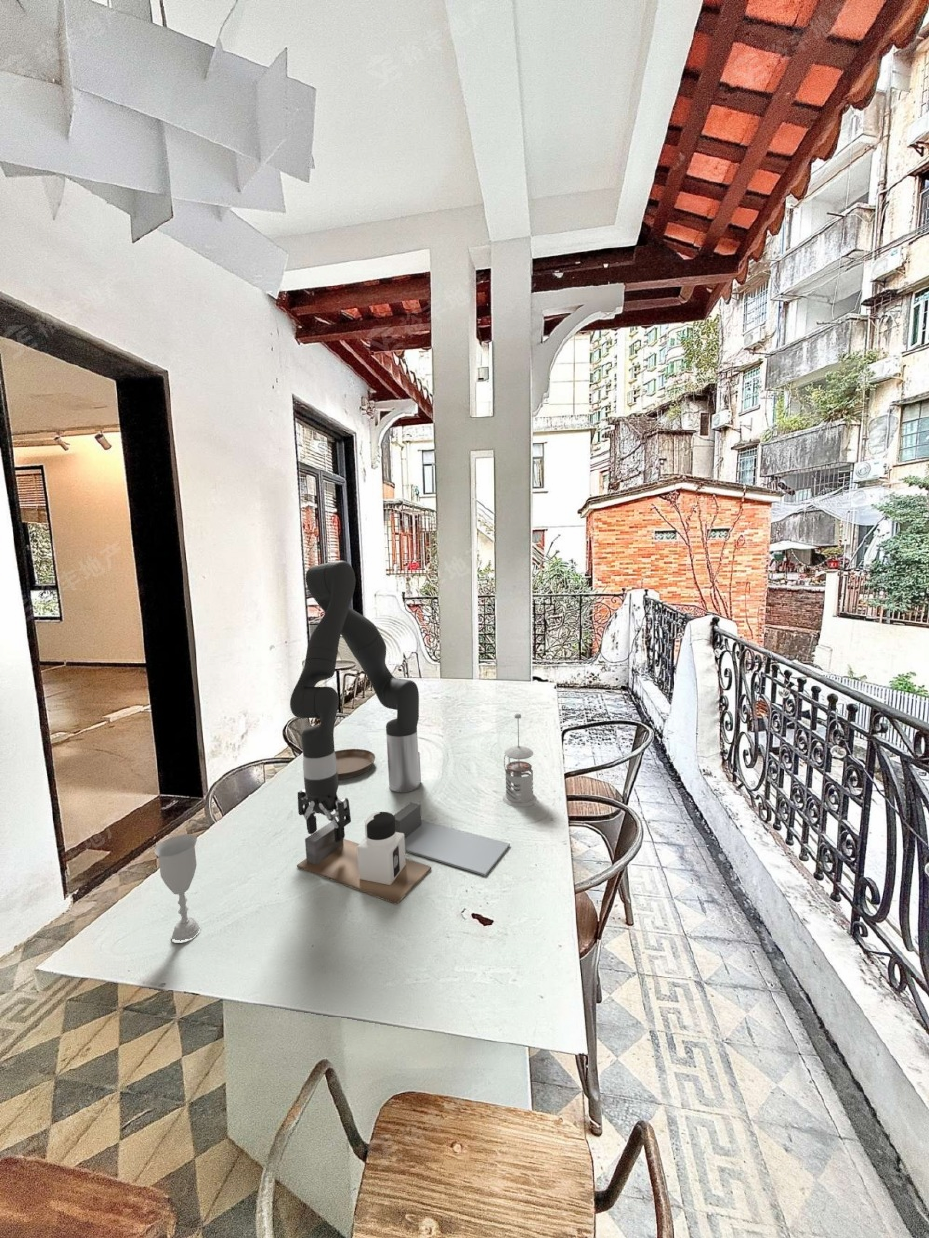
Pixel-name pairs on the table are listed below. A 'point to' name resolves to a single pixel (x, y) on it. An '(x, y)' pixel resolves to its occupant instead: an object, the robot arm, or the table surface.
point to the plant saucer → (353, 762)
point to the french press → (519, 776)
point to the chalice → (179, 877)
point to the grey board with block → (447, 842)
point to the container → (381, 850)
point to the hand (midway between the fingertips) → (325, 836)
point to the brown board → (354, 866)
